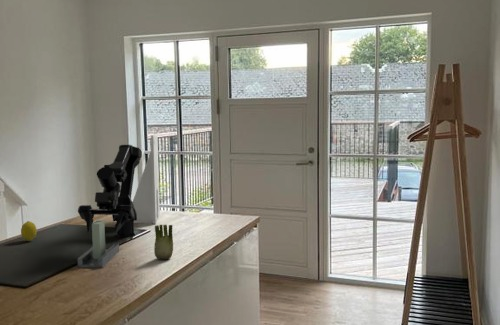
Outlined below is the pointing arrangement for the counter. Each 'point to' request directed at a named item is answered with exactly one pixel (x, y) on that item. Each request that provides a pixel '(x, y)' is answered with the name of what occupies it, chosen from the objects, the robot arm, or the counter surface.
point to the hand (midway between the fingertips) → (101, 233)
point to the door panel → (98, 239)
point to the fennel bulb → (163, 242)
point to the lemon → (28, 230)
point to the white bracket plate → (148, 188)
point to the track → (89, 262)
